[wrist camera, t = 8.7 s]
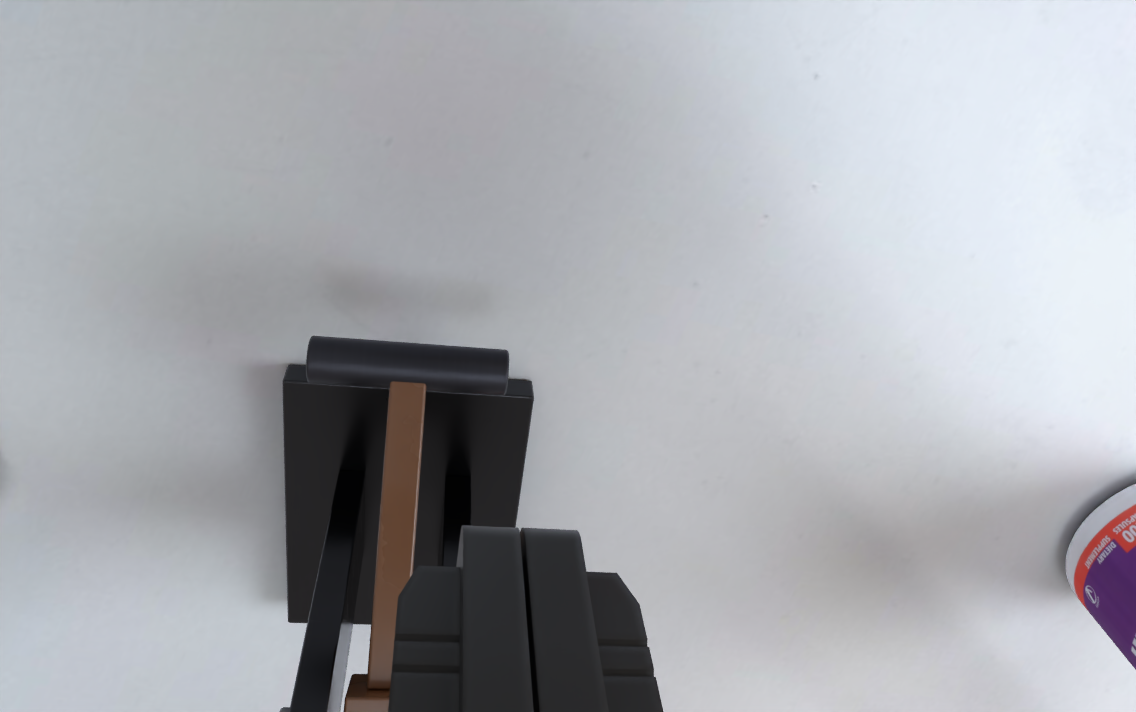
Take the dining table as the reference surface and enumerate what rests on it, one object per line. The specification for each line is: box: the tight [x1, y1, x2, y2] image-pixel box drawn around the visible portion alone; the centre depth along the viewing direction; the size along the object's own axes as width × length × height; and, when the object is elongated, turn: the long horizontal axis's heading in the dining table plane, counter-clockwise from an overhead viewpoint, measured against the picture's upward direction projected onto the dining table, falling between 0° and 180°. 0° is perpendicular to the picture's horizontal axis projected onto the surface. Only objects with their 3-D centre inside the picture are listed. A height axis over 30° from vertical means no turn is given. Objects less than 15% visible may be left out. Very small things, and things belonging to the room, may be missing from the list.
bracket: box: [280, 365, 534, 712], centre depth 30 cm, size 12×9×13 cm
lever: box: [306, 336, 509, 712], centre depth 26 cm, size 13×6×2 cm
